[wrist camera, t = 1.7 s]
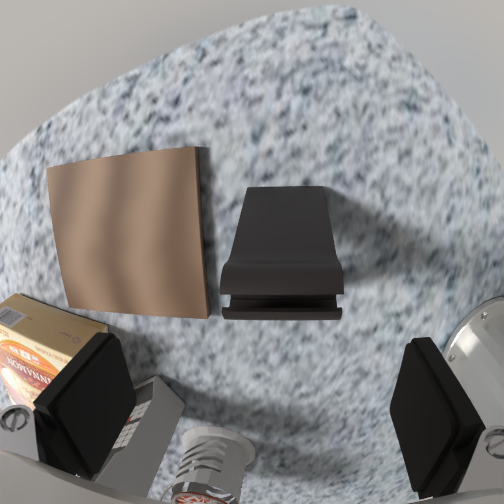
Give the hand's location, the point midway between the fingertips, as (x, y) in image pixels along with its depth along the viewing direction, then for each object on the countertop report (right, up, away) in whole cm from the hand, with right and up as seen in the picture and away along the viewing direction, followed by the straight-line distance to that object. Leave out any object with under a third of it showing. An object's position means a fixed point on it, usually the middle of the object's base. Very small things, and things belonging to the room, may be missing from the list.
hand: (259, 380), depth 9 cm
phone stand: (+3, +5, +17) cm, 18 cm away
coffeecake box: (-23, -3, +19) cm, 30 cm away
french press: (-5, -22, +26) cm, 35 cm away
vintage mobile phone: (-11, -12, +24) cm, 29 cm away
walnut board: (-12, +5, +19) cm, 23 cm away
